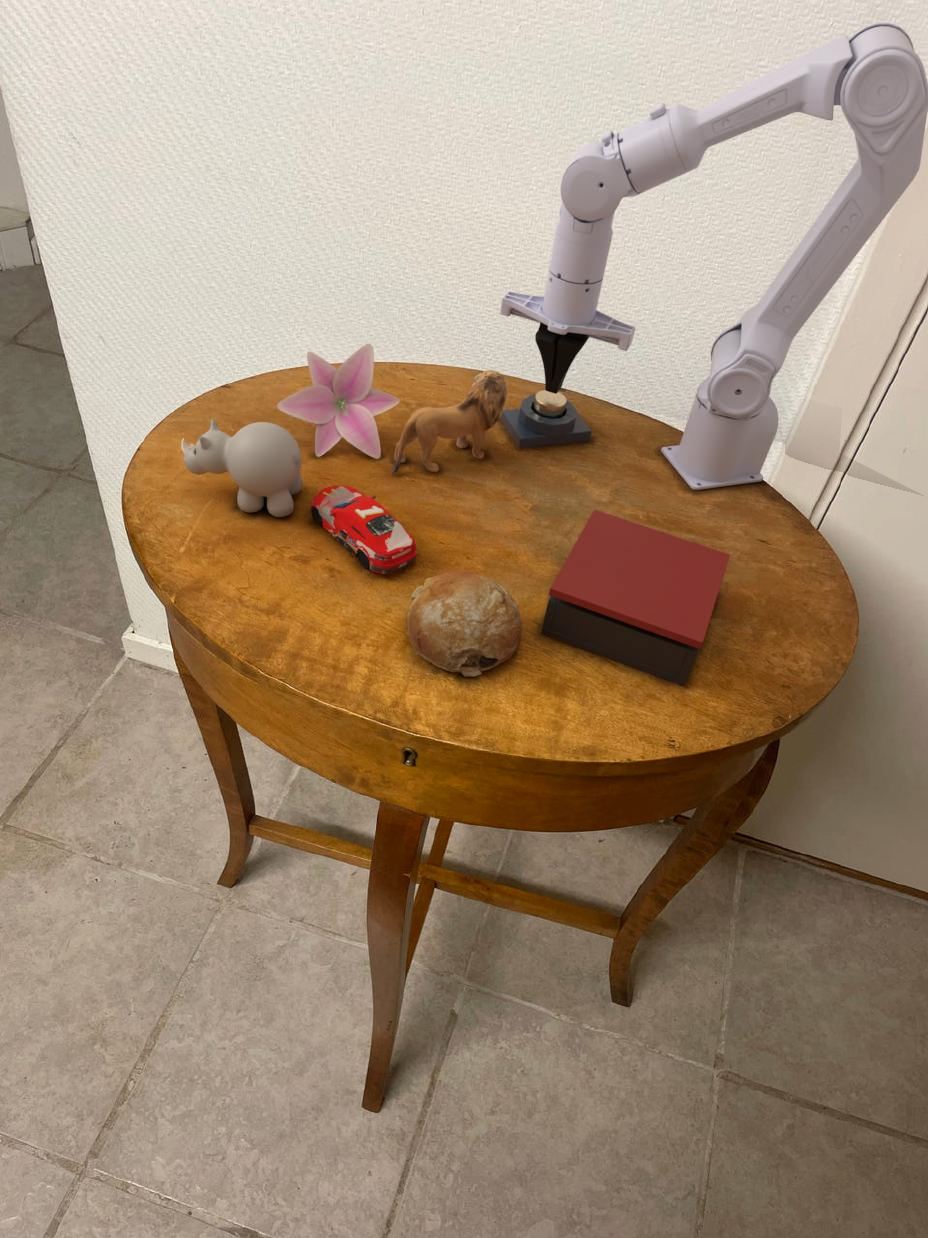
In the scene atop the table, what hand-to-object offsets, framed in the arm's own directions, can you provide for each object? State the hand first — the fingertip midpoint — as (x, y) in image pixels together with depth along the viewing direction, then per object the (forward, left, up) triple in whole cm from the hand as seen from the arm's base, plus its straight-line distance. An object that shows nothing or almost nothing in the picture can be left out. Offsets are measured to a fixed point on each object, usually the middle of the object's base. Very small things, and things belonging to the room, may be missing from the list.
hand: (553, 388), depth 104 cm
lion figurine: (+13, +2, -6) cm, 15 cm away
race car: (+26, +14, -6) cm, 30 cm away
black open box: (+4, +30, -6) cm, 31 cm away
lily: (+24, -3, -6) cm, 25 cm away
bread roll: (+21, +29, -6) cm, 37 cm away
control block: (0, 0, -6) cm, 6 cm away
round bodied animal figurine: (+36, +5, -6) cm, 37 cm away
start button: (0, 0, -3) cm, 3 cm away
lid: (+4, +31, -1) cm, 31 cm away
